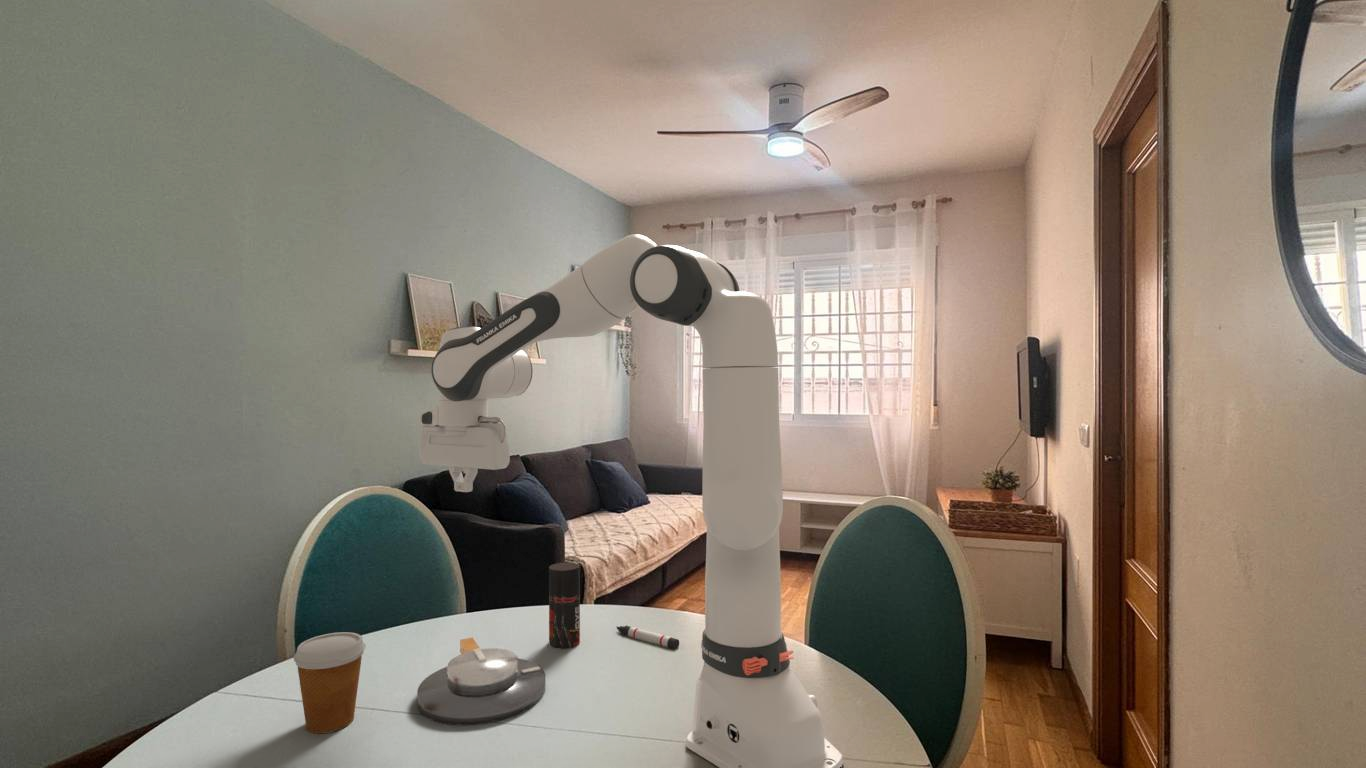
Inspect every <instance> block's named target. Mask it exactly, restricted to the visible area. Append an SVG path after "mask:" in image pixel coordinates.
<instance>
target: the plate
mask: <svg viewBox="0 0 1366 768" xmlns="http://www.w3.org/2000/svg"><path fill="white" fill-rule="evenodd" d="M417 687H418V688H417V692H416V694H417V695H416V696H417V698H416V700H417V701H416V702H417V703H416V704H417V705H416V706H417V709H418V712H419V713H420V714H421V715H422V716H423V717H424V718H426V719H428V720H430V721H433V722H436V723H439V724H445V725H453V726H473V725H474V726H475V725H481V724H482V725H483V724H488V723H494V722H499V721H502V720H503V721H504V720H505V719H508V718H512V717H514V716H517V715H519V714H522V713H523V712H525V711H527V710H529V709H531V708H533V707H534V706H535V705H536V704H538V703H539V702H540V701H541V700H542V698H543V697H544V695H545V692H546V672H545V670H544V669H543V667H541V666H540V665H539V664H537V663H535V662H533V661H530V660H527V659H523V658H520V657H518V678H517V680H516V682H515V683H514V684H512V685H511V686H509V687H508V688H506V689H503V690H501V691H498V692H495V693H491V694H485V695H474V696H471V695H461V694H457V693H454V692H452V691H451V690H449V688H448V686H447V666H445V667H443V668H441V669H438V670H436V671H434V672H432V673H431V674H429V675H427V677H425V678H424V679H423V680H422V681H421V683H420V684H419V686H417Z"/></svg>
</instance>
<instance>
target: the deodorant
mask: <svg viewBox="0 0 1366 768" xmlns="http://www.w3.org/2000/svg"><path fill="white" fill-rule="evenodd" d="M580 566H581V565H580V564H579V563H576V562H560V563H559V562H557V563H554V564H553V563H552V564H551V565H550V566H548V644H549V645H548V646H549V647H550V648H551V649H552V648H553V649H558V650H568V649H573V648H574V647H577V646H579V644H580V642H581V627H580V626H581V621H580V620H581V619H580V617H581V612H580V611H581V607H580V605H581V603H580V601H581V594H580V593H581V590H580V589H581V585H580V584H581V583H580V582H581V578H580V577H581V576H580V575H581V572H580V571H581V570H580V568H581V567H580Z"/></svg>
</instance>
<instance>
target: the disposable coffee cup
mask: <svg viewBox="0 0 1366 768" xmlns="http://www.w3.org/2000/svg"><path fill="white" fill-rule="evenodd" d="M366 648H367V647H366V643H365V642H364V640H363V636H362V635H361V634H359V633H356V632H346V631H345V632H344V631H342V632H331V633H326V634H322V635H317V636H314V637H311V638H309V639H306V640H304V641H302V642H301V643H300V644H299V645H298V646H297V648H296V653H295V654H294V655H293V661H294V663H295V665H296V666H297V671H298V672H297V673H298V678H299V679H298V680H299V689H300V693H301V700H302V707H303V714H304V721H305V728H306V731H307V732H309V733H312V734H327V733H328V734H329V733H333V732H335V731H339V730H341V729H344V728H345V727H347V726H349V725H350V724H352V723H353V721H354V718H355V712H356V711H355V710H356V703H357V695H358V689H359V681H360V672H361V664H362V656H363V654H364V652H365V650H366Z"/></svg>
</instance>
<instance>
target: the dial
mask: <svg viewBox="0 0 1366 768" xmlns="http://www.w3.org/2000/svg"><path fill="white" fill-rule="evenodd" d="M459 653H460V654H458V655H457V656H456V655H455V656H454V657H453V658H451V659H450V660H449V662H448V663H447V666H446V667H447V686H448V688H449V690H451V691H452V692H454V693H457V694H461V695H471V696H474V695H485V694H491V693H495V692H498V691H501V690H503V689H506V688H508V687H509V686H511V685H512V684H514V683H515V682H516V680H517V678H518V658H519V657H518V655H517V654H516V653H515V652H513V651H512V650H509V649H504V648H496V647H495V648H493V647H492V648H491V647H489V648H480V646H479V645H478V643H477V642H476V640H475V639H474V637H467V638H463V639H460V640H459Z"/></svg>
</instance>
